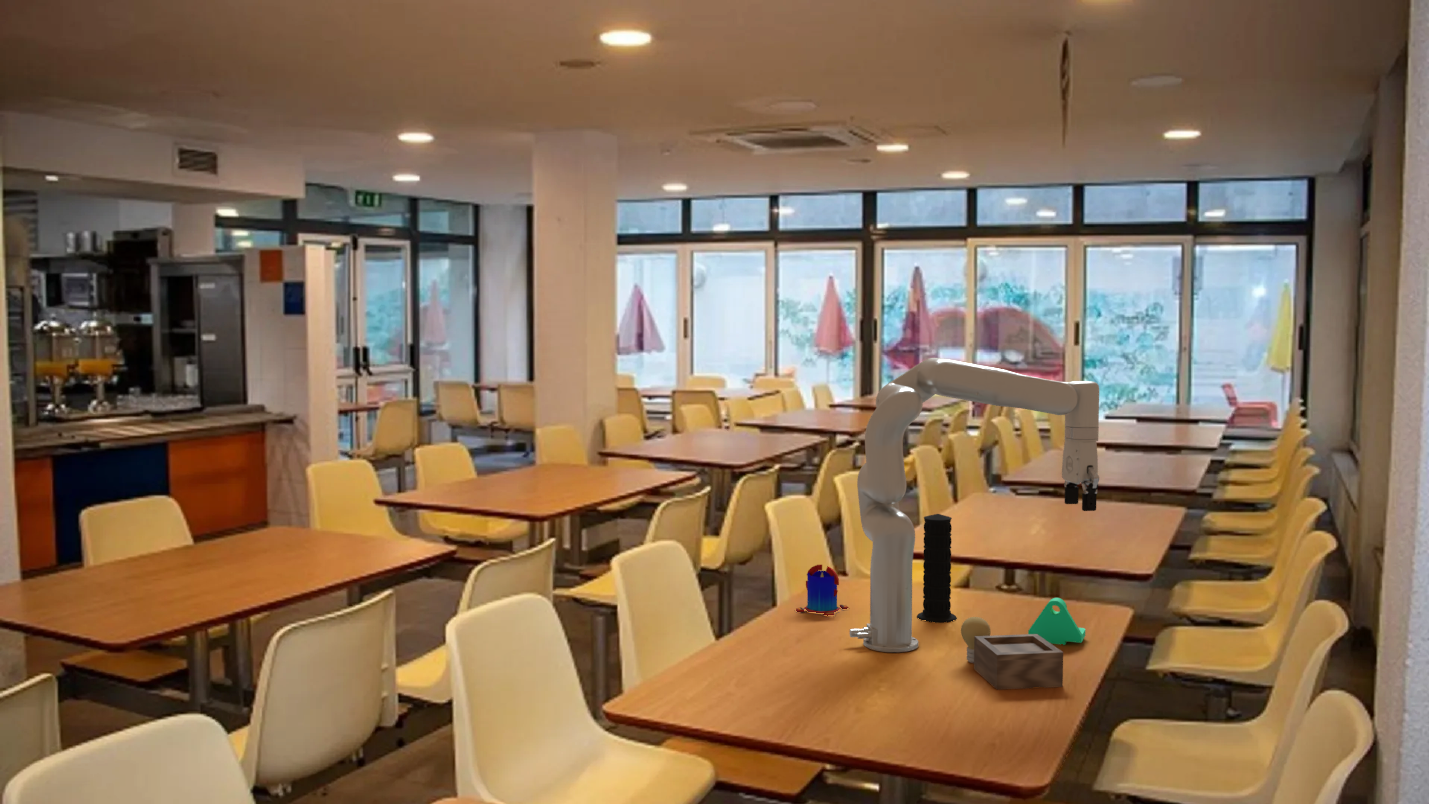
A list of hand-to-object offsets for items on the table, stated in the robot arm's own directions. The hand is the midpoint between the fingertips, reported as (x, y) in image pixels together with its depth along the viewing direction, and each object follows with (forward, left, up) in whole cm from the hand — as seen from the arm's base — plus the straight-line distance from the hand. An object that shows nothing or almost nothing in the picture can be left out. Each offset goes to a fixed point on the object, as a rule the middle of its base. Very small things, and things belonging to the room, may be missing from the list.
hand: (1080, 507), depth 278 cm
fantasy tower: (-54, +35, -32) cm, 71 cm away
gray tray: (-25, -27, -31) cm, 48 cm away
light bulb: (-30, -15, -31) cm, 46 cm away
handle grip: (-27, +23, -31) cm, 47 cm away
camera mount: (-5, 0, -32) cm, 32 cm away
